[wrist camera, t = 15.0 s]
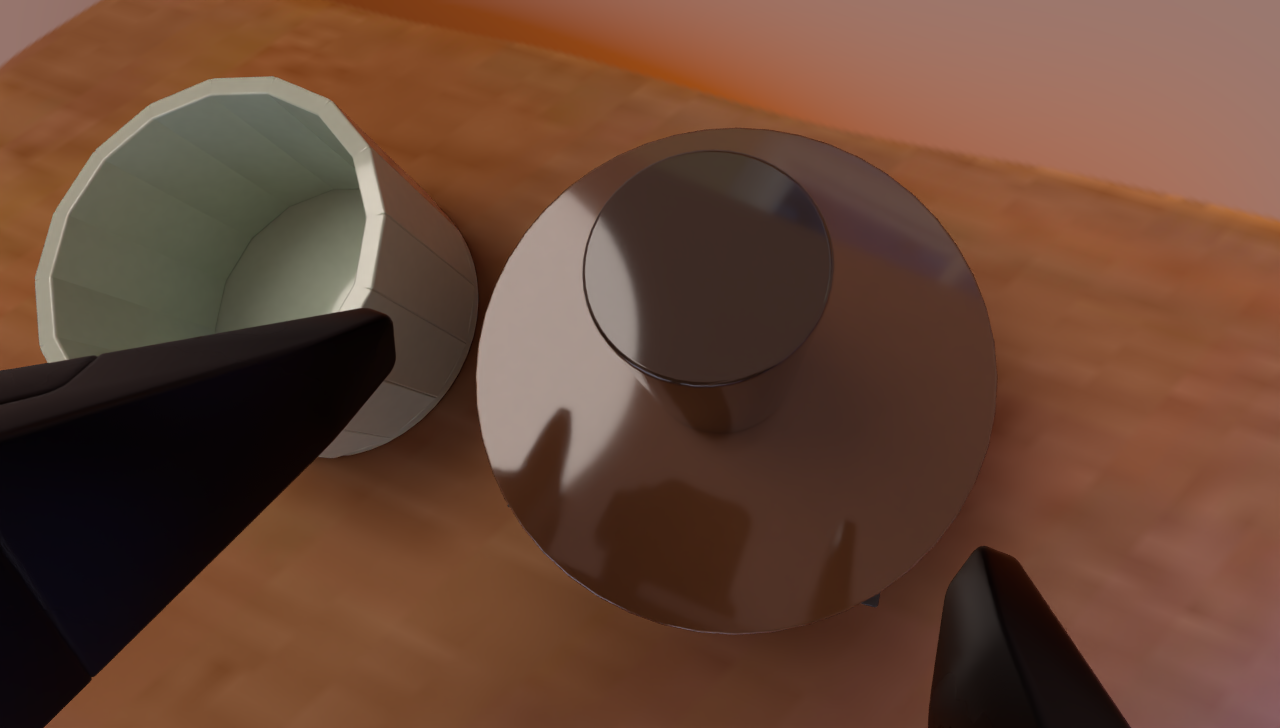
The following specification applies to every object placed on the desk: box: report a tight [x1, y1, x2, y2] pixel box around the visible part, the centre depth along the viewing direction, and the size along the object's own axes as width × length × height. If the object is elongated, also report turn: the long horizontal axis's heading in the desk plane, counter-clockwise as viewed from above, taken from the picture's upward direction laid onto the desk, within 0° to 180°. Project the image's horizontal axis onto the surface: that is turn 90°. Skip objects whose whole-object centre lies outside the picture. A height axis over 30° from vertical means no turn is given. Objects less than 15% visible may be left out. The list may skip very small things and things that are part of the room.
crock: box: [35, 76, 478, 458], centre depth 19 cm, size 10×10×6 cm
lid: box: [475, 128, 997, 635], centre depth 12 cm, size 12×12×7 cm
